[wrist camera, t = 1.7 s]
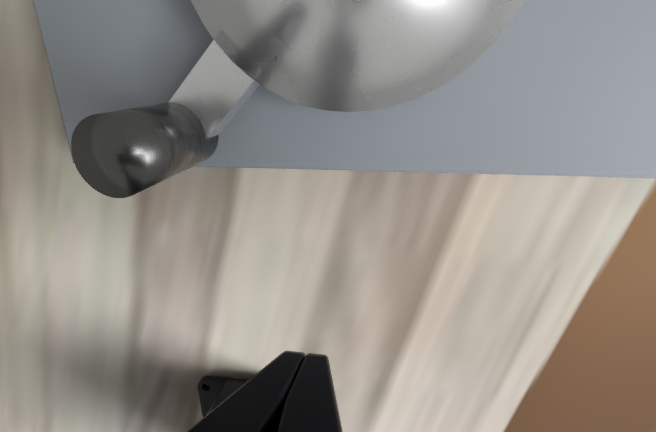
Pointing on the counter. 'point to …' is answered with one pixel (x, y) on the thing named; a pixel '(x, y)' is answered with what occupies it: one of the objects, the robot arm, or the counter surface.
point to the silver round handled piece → (287, 75)
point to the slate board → (404, 119)
